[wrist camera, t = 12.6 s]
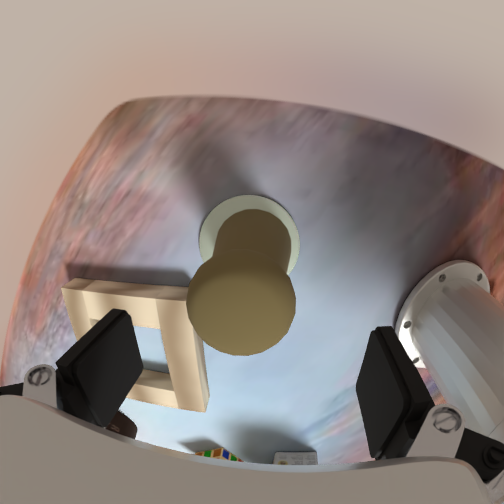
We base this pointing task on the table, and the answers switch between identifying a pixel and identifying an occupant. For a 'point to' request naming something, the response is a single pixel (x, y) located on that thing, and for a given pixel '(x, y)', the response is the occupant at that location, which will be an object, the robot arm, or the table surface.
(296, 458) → the coffee box
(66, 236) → the table surface
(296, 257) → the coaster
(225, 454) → the rubik's cube
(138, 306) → the holder board
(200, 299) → the cork
